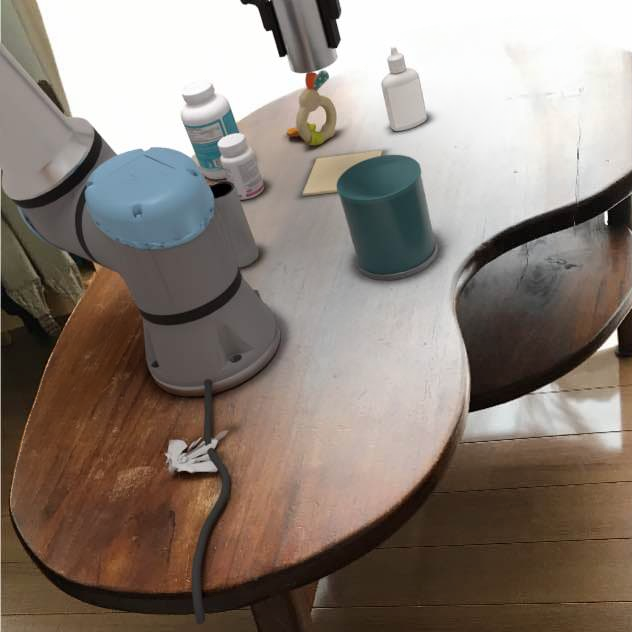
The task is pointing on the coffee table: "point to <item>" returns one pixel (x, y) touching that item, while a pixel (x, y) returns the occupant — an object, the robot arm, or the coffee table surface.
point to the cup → (304, 35)
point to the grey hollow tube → (234, 222)
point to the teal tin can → (388, 216)
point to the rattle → (310, 103)
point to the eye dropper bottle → (403, 94)
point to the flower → (191, 455)
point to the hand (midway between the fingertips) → (310, 48)
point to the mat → (332, 171)
